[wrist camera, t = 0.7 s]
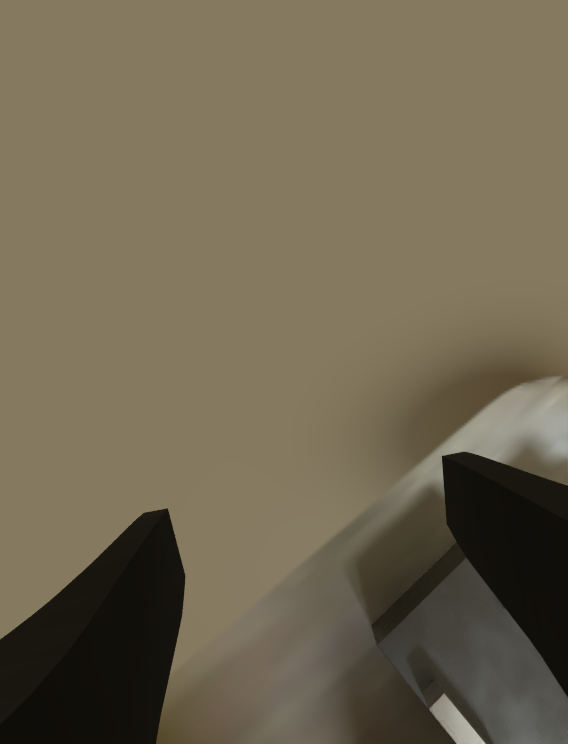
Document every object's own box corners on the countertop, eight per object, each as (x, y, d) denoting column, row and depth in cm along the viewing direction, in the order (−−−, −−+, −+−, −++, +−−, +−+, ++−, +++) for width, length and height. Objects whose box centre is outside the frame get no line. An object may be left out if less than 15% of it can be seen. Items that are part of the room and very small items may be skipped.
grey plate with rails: (623, 714, 28) (701, 773, 22) (528, 819, 27) (582, 909, 21) (459, 539, 31) (488, 550, 26) (371, 626, 30) (380, 657, 25)
